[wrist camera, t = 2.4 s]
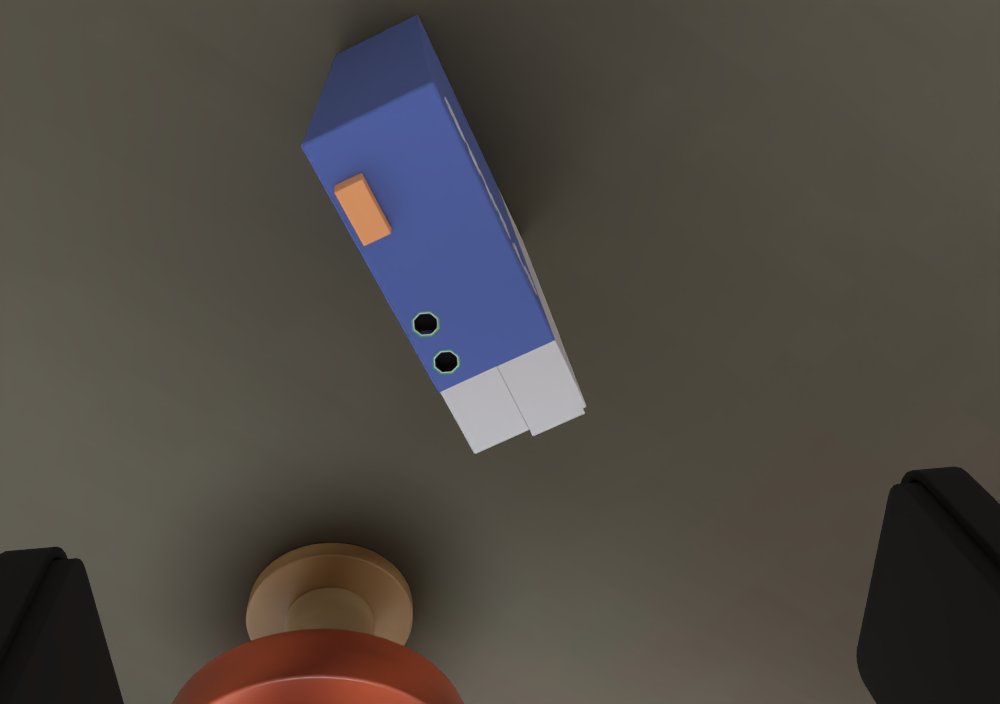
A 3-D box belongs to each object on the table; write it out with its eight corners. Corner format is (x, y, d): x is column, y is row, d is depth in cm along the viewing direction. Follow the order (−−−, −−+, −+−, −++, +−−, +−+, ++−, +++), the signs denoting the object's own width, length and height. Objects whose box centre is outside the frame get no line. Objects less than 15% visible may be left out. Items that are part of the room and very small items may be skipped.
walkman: (334, 55, 27) (296, 151, 17) (418, 13, 27) (434, 84, 16) (448, 276, 31) (477, 474, 20) (523, 241, 30) (595, 423, 20)
